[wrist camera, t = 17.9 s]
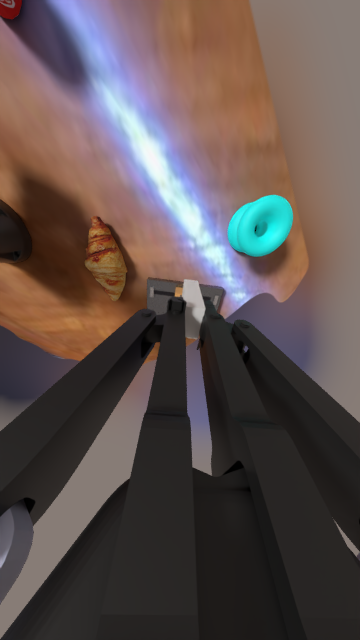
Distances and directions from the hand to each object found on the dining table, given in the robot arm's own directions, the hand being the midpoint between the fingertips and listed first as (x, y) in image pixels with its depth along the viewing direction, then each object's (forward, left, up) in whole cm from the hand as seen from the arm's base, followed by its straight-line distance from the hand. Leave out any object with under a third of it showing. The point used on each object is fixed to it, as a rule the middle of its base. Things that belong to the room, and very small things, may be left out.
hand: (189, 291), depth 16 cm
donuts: (+14, +8, -27) cm, 31 cm away
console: (+1, -15, -26) cm, 30 cm away
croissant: (-21, -4, -27) cm, 34 cm away
